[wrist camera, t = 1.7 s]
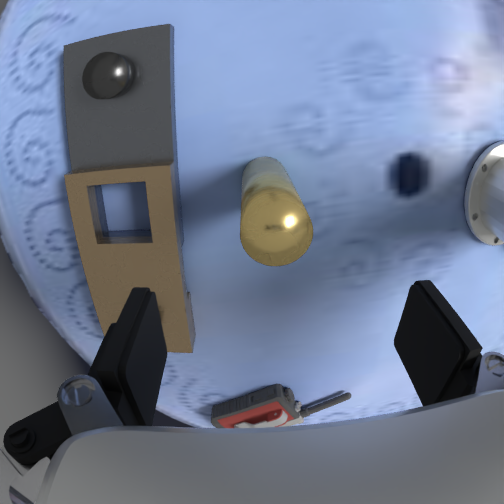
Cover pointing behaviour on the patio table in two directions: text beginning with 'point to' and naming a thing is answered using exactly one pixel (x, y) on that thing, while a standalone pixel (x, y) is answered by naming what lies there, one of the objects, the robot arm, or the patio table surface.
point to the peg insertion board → (127, 172)
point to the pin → (272, 215)
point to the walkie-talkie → (266, 409)
